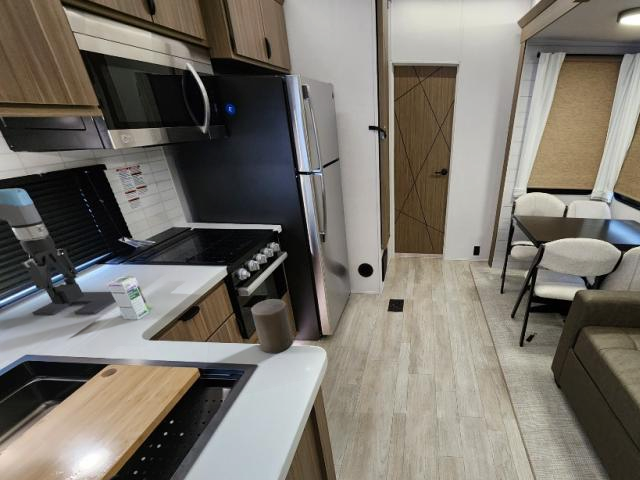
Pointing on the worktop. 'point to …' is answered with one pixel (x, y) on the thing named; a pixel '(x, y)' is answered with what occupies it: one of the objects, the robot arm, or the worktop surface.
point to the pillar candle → (272, 325)
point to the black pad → (69, 293)
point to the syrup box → (129, 297)
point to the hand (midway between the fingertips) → (68, 299)
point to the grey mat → (92, 299)
